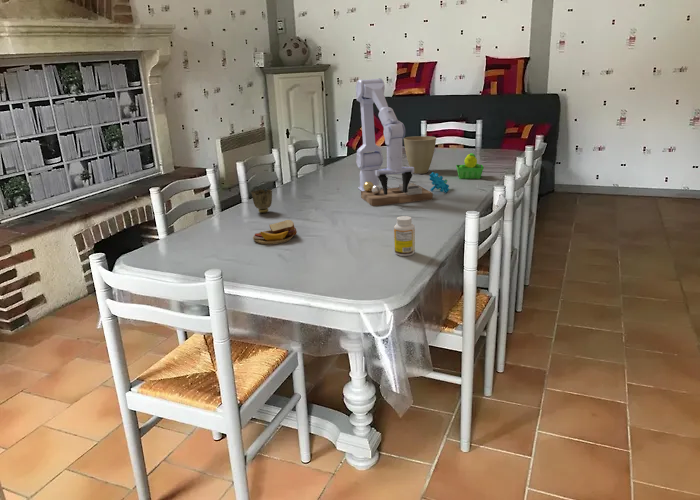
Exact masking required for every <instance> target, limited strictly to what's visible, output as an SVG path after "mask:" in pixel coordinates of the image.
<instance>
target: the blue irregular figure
mask: <svg viewBox="0 0 700 500" xmlns="http://www.w3.org/2000/svg"><path fill="white" fill-rule="evenodd" d="M428 176H429V179H428V180H429V181H431V185H432V187H431V188H430V190H429V191H430V192H433V191H434V190H435V189H436V190H439V192H441V193H443V192H444V194H447V193H448V192H449V191H450V190H451V189H450V185H449V184H447V183H448V179H447V178H446V179H444V177H443V176H442V175H440V176H439V173H438V172H434V171H432V172H431V173H430V174H429V175H428Z"/></svg>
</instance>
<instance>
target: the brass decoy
mask: <svg viewBox="0 0 700 500" xmlns="http://www.w3.org/2000/svg"><path fill="white" fill-rule="evenodd" d="M373 186H374V185H373V183H372V182H369V181H368V182H365V183H364V185H363V188H364V190H365V191H367V192H370V191H372V187H373Z"/></svg>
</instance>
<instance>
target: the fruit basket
mask: <svg viewBox="0 0 700 500" xmlns="http://www.w3.org/2000/svg"><path fill="white" fill-rule="evenodd" d="M463 162H464V164H456V165H455V167H456V171H457V175H458V178H459V180H464V179H465V180H467V179H470V180H474V179H475V178H476V180H477V179H481V178H482V173H483V170H484V169H485V168H484V165H482V164H479V163H478V159H477V158H476V155H475V153H473V152H471V153H469V154H467V155H466V157H465V158H464V161H463Z"/></svg>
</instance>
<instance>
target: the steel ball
mask: <svg viewBox="0 0 700 500" xmlns="http://www.w3.org/2000/svg"><path fill="white" fill-rule="evenodd" d="M381 189H382V188H381V186H380V185H379V186H378V185H374V186H373V187H372V192H373V193H374V194H379V193H380V192H381Z"/></svg>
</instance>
